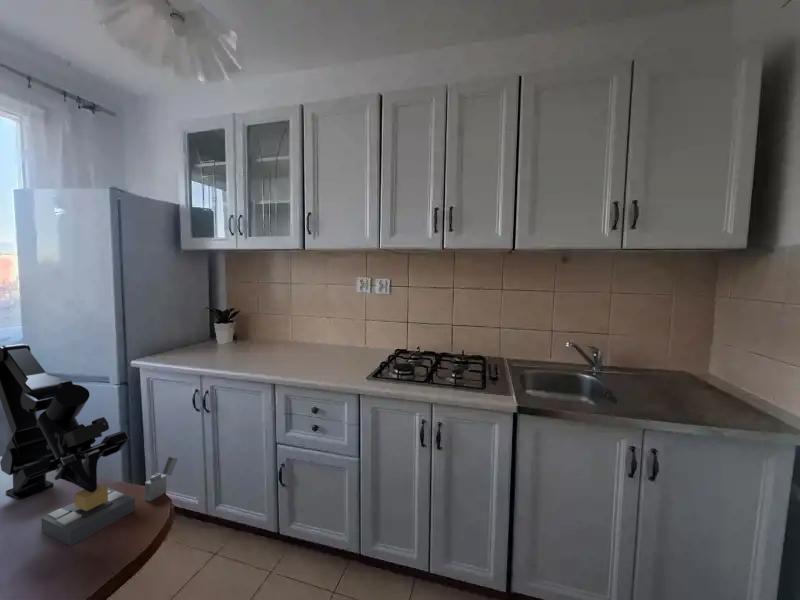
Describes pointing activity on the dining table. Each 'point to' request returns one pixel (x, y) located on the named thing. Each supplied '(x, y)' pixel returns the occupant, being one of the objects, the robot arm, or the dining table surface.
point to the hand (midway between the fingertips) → (94, 490)
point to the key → (91, 498)
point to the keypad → (86, 518)
